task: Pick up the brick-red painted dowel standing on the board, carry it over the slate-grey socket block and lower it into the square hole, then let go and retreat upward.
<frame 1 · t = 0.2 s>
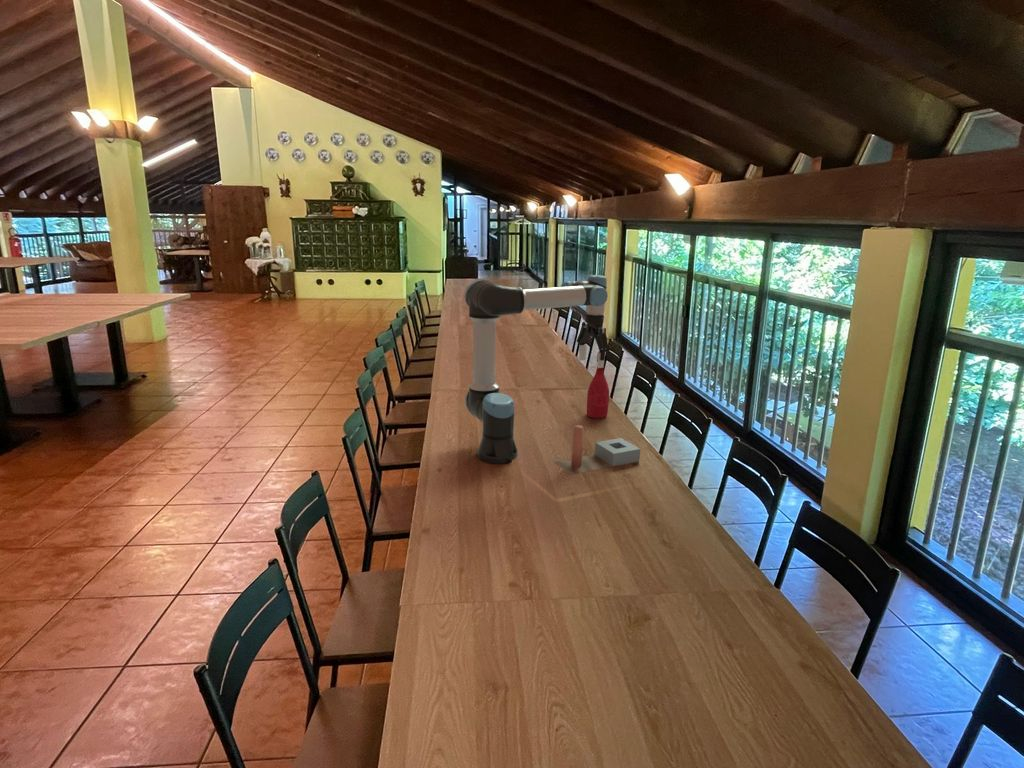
hand: (591, 363, 258), 29 cm above the table, fingers open, 13 cm apart
wine bottle: (596, 416, 283), on the table
board: (596, 464, 230), on the table
peg: (576, 465, 226), point 1 cm above the table, touching board
socket: (616, 460, 234), resting on board
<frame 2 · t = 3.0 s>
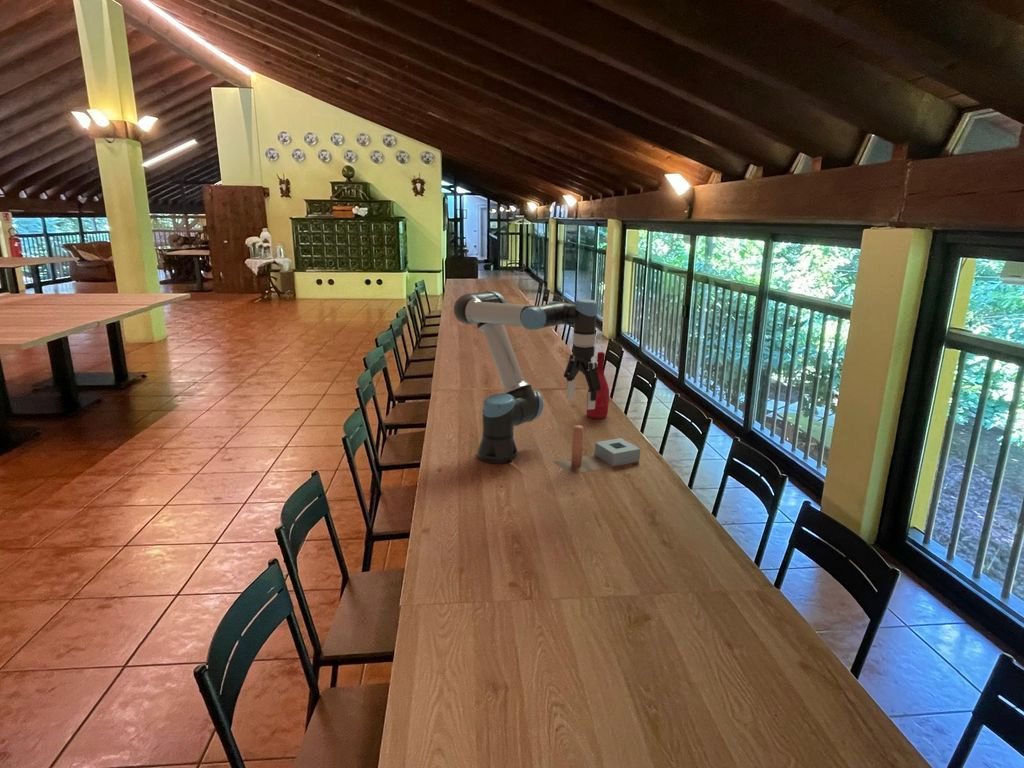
hand: (580, 403, 219), 25 cm above the table, fingers open, 13 cm apart
nothing on the table moved.
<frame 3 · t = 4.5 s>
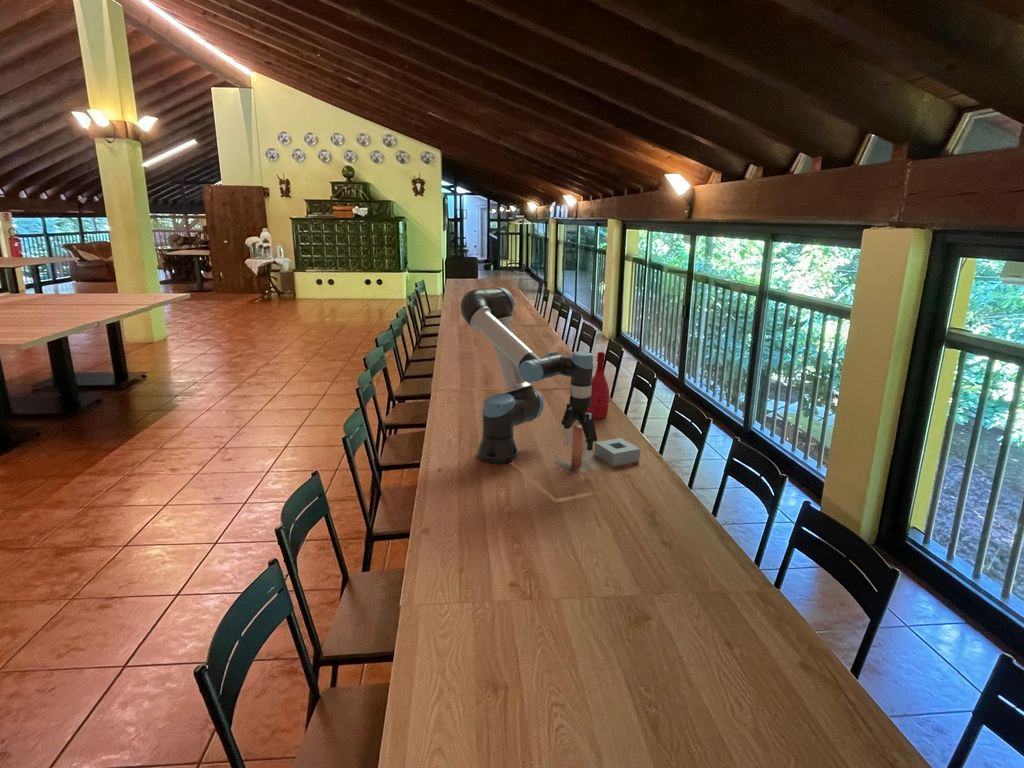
hand: (577, 451, 224), 7 cm above the table, fingers open, 13 cm apart
nothing on the table moved.
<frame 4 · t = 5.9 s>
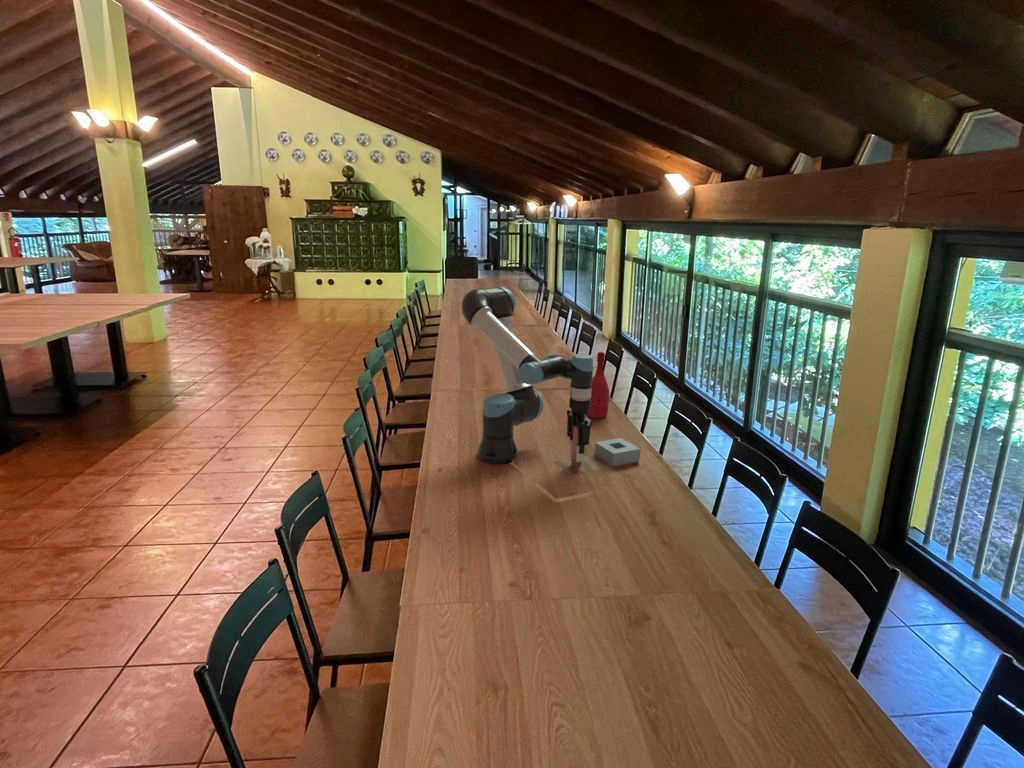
hand: (576, 458, 225), 4 cm above the table, fingers closed on peg, 3 cm apart
peg: (576, 465, 226), point 1 cm above the table, touching gripper
everything else where it was.
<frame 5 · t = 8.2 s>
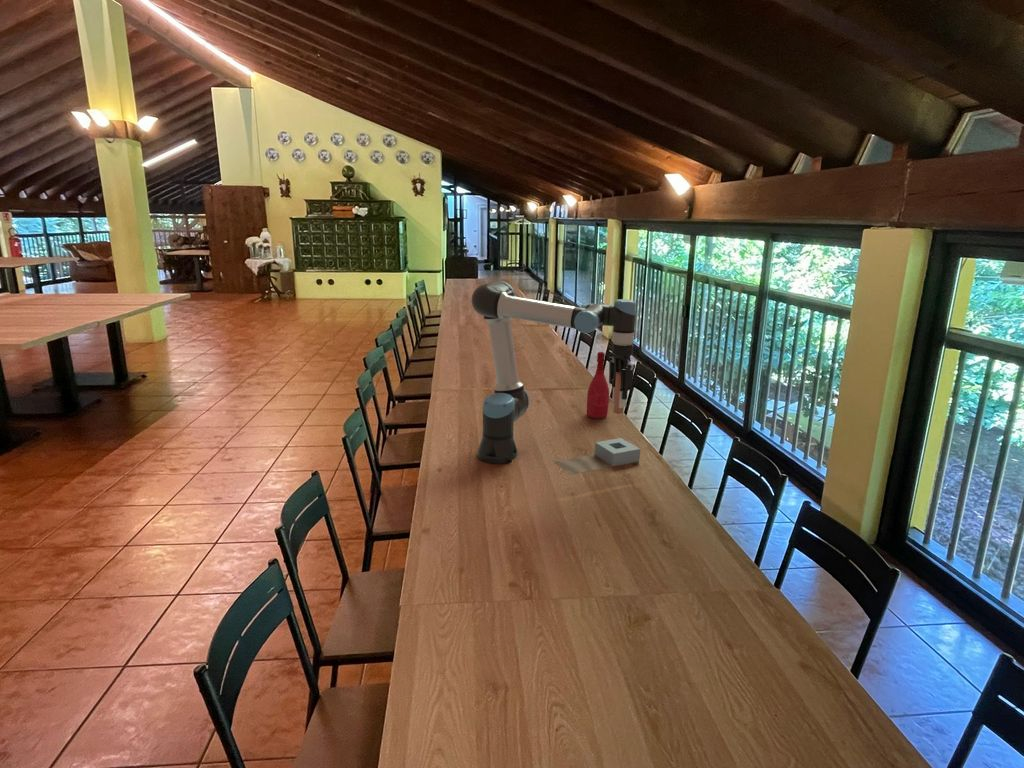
hand: (618, 405, 226), 22 cm above the table, fingers closed on peg, 3 cm apart
peg: (618, 412, 227), point 20 cm above the table, touching gripper
everything else where it was.
when the fingers open (8 cm above the table, at t = 10.7 s): peg drops 3 cm, resting on board.
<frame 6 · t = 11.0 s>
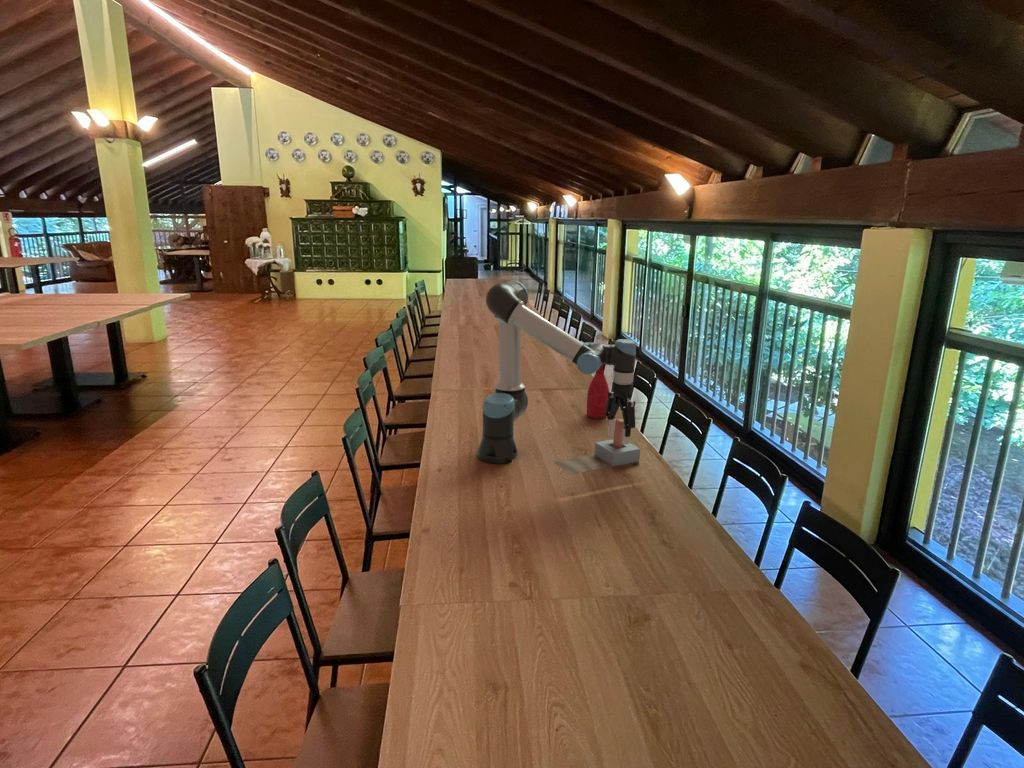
hand: (618, 439, 231), 8 cm above the table, fingers open, 8 cm apart
peg: (616, 457, 233), point 1 cm above the table, touching board
everything else where it was.
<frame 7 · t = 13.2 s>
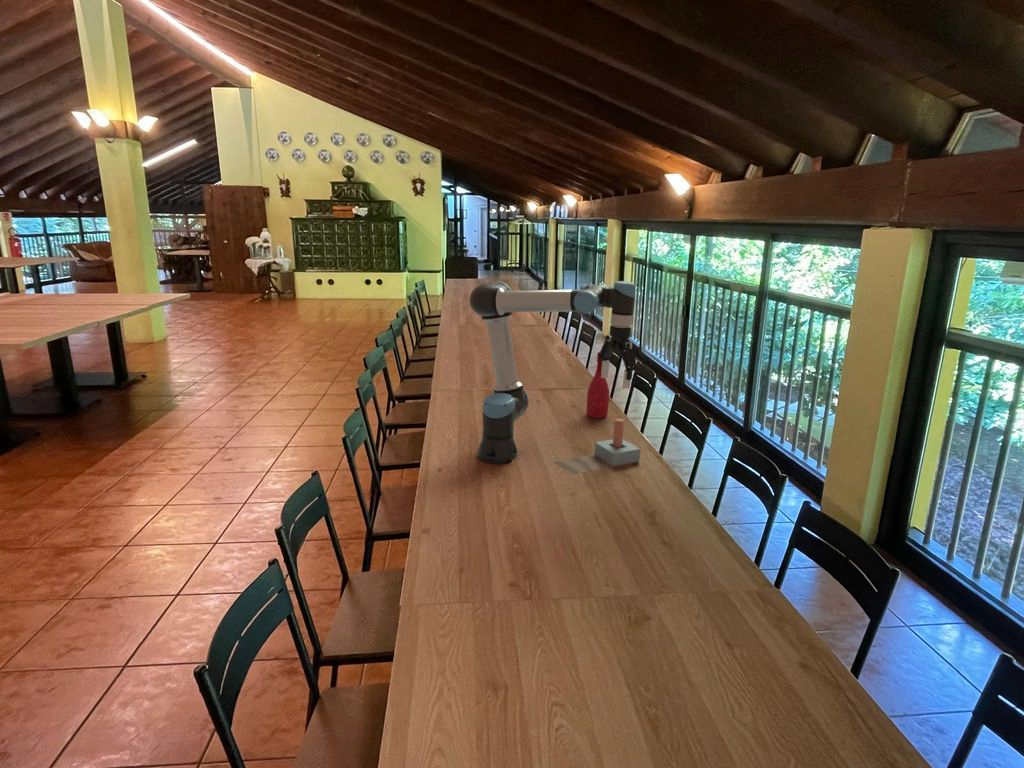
hand: (614, 382, 225), 31 cm above the table, fingers open, 13 cm apart
nothing on the table moved.
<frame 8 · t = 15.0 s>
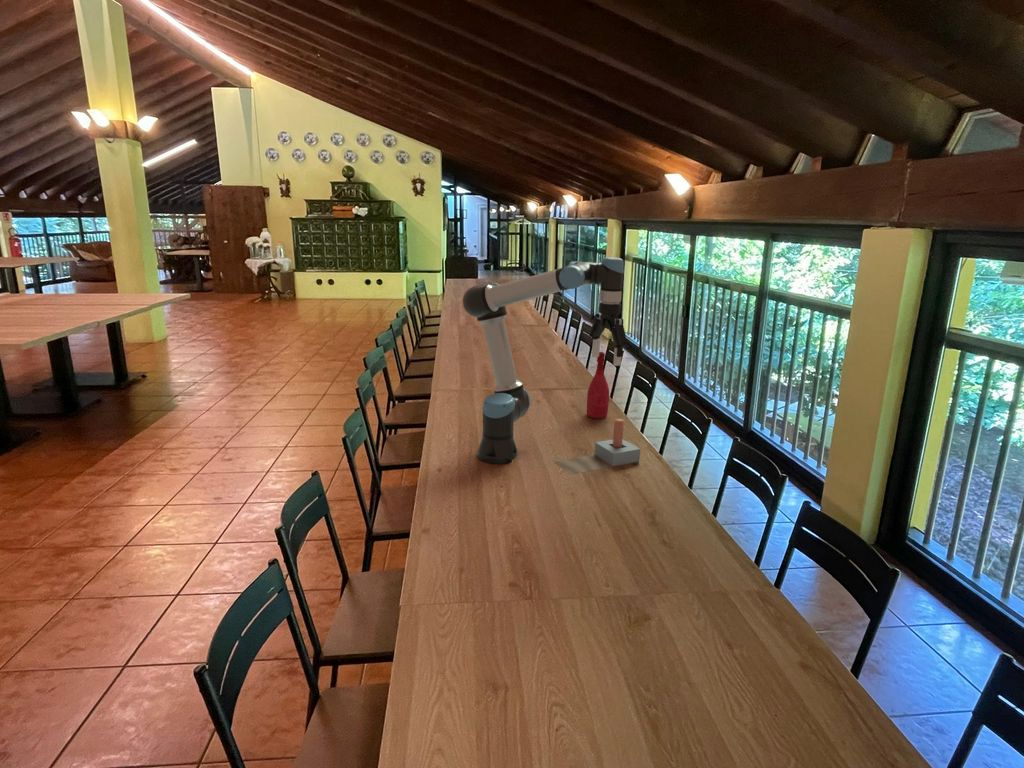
hand: (605, 361, 223), 39 cm above the table, fingers open, 13 cm apart
nothing on the table moved.
at the end: peg 0.1 cm off-centre on the socket, point 1.0 cm above the socket's base; peg tilted 0°; the gripper is holding nothing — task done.
